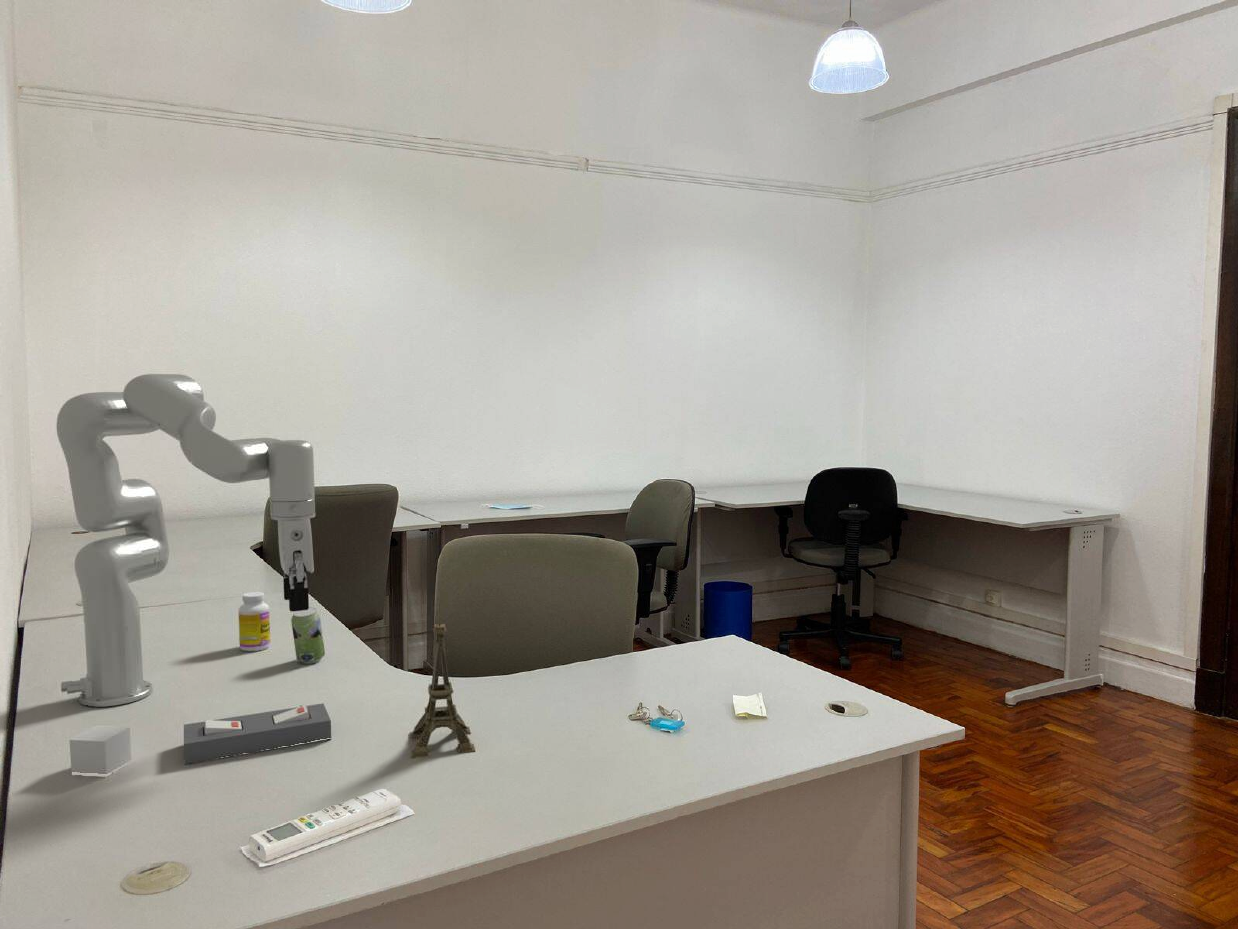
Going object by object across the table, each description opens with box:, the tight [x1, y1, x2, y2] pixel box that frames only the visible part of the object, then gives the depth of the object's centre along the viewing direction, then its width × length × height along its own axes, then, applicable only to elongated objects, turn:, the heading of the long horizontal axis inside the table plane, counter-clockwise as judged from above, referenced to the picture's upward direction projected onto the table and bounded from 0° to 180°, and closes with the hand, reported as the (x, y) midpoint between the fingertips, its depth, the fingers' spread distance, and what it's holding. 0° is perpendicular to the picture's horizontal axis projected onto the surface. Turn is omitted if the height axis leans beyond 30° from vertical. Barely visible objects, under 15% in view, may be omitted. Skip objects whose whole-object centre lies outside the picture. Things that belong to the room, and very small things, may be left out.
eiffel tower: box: [408, 601, 476, 759], centre depth 152 cm, size 11×11×25 cm
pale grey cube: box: [69, 724, 132, 774], centre depth 142 cm, size 6×6×6 cm
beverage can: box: [290, 606, 326, 665], centre depth 196 cm, size 6×7×12 cm
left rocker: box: [204, 719, 242, 735], centre depth 150 cm, size 6×4×1 cm, turn 117°
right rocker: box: [273, 704, 310, 724], centre depth 155 cm, size 6×4×1 cm, turn 116°
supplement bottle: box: [237, 591, 271, 652], centre depth 205 cm, size 7×7×13 cm
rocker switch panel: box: [183, 703, 332, 765], centre depth 156 cm, size 23×16×4 cm
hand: (296, 604), depth 159 cm, fingers open, 8 cm apart
